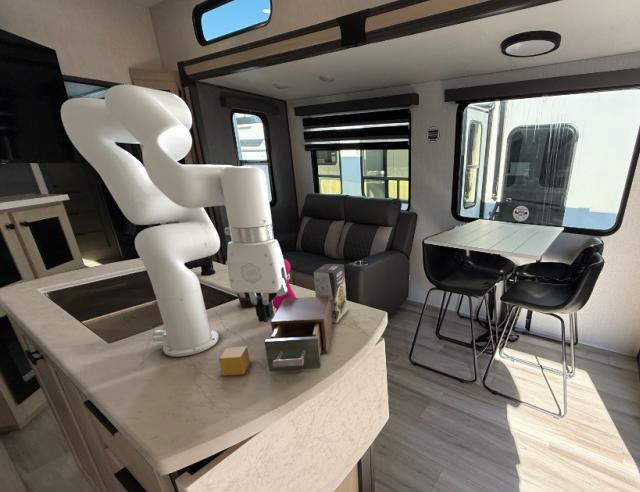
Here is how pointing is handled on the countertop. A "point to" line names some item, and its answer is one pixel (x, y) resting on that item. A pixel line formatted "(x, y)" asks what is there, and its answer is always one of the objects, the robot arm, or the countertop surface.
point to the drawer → (294, 347)
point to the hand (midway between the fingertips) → (266, 319)
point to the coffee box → (332, 288)
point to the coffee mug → (245, 301)
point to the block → (234, 361)
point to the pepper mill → (279, 299)
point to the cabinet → (306, 314)
